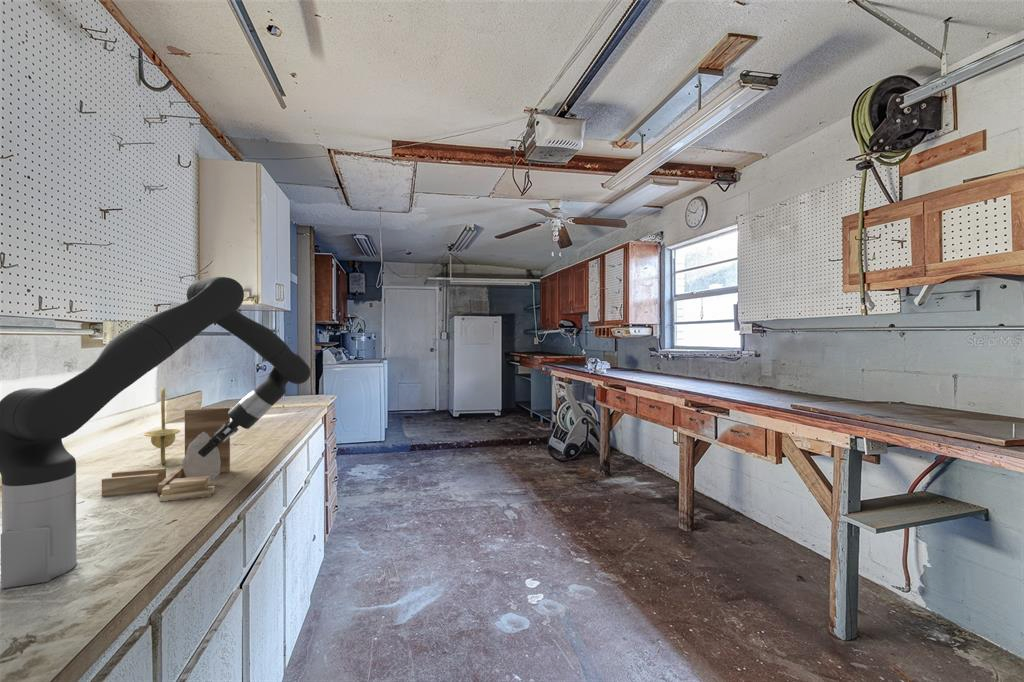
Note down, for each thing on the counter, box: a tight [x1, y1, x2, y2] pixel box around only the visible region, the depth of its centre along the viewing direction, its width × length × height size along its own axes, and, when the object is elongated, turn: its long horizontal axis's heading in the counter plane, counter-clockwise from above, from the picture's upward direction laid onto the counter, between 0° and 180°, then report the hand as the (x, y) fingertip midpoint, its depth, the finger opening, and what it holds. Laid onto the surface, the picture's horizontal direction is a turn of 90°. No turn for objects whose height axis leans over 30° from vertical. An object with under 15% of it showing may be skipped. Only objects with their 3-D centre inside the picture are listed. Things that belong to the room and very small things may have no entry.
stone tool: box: [182, 432, 221, 484], centre depth 128 cm, size 9×3×15 cm, turn 119°
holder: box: [101, 467, 167, 497], centre depth 124 cm, size 7×12×4 cm, turn 112°
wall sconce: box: [143, 387, 181, 465], centre depth 149 cm, size 14×10×25 cm
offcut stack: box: [159, 476, 216, 502], centre depth 119 cm, size 5×11×4 cm, turn 112°
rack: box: [157, 407, 231, 497], centre depth 130 cm, size 19×13×20 cm
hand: (205, 451), depth 128 cm, fingers open, 8 cm apart
